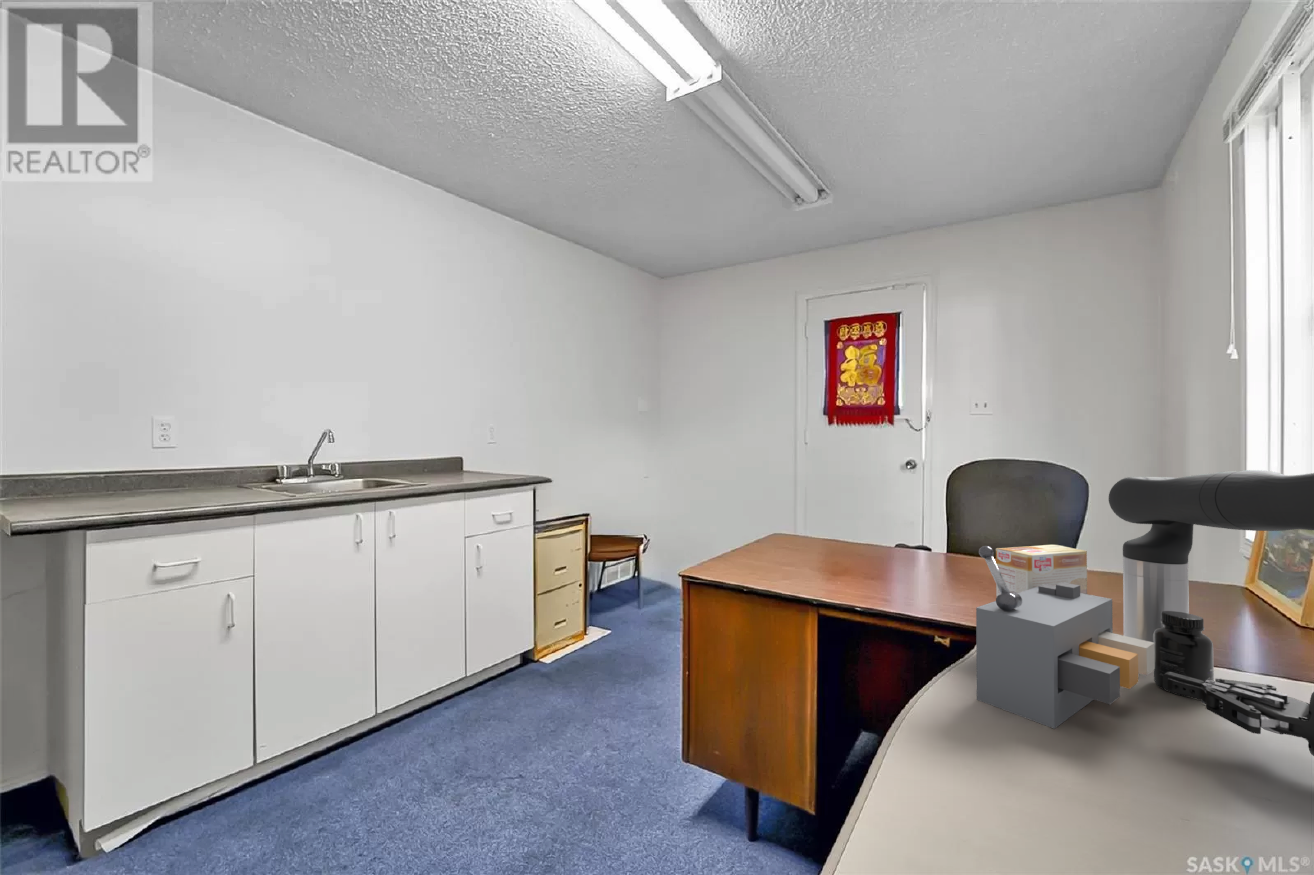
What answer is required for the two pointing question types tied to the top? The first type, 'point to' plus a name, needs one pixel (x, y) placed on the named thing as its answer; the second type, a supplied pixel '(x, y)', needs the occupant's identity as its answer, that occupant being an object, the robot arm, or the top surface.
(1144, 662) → the cream button
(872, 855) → the top surface
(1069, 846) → the top surface
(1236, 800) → the top surface
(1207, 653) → the supplement bottle
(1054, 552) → the coffeecake box
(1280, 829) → the top surface
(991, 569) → the toggle lever
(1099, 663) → the black button
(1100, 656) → the orange button
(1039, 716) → the grey dispenser housing
